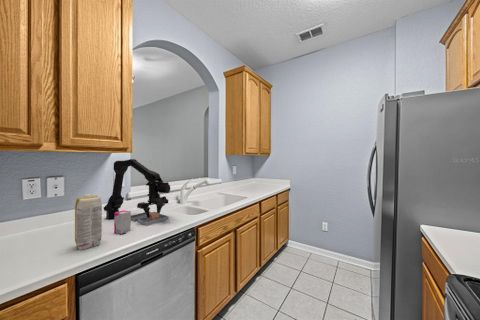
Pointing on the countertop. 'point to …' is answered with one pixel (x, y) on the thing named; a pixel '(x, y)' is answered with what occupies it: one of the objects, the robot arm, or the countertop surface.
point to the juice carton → (88, 221)
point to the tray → (146, 222)
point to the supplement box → (122, 222)
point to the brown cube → (153, 216)
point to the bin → (138, 216)
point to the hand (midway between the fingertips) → (153, 216)
